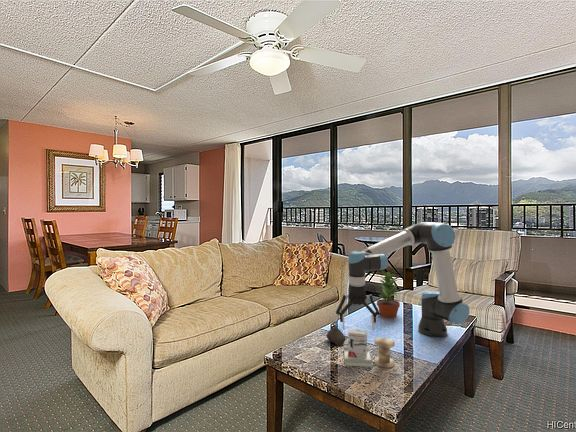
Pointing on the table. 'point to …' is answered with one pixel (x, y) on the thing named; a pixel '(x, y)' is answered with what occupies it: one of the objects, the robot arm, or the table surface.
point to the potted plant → (388, 297)
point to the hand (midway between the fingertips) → (358, 329)
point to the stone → (336, 336)
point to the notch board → (357, 359)
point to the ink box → (357, 343)
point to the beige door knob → (384, 352)
